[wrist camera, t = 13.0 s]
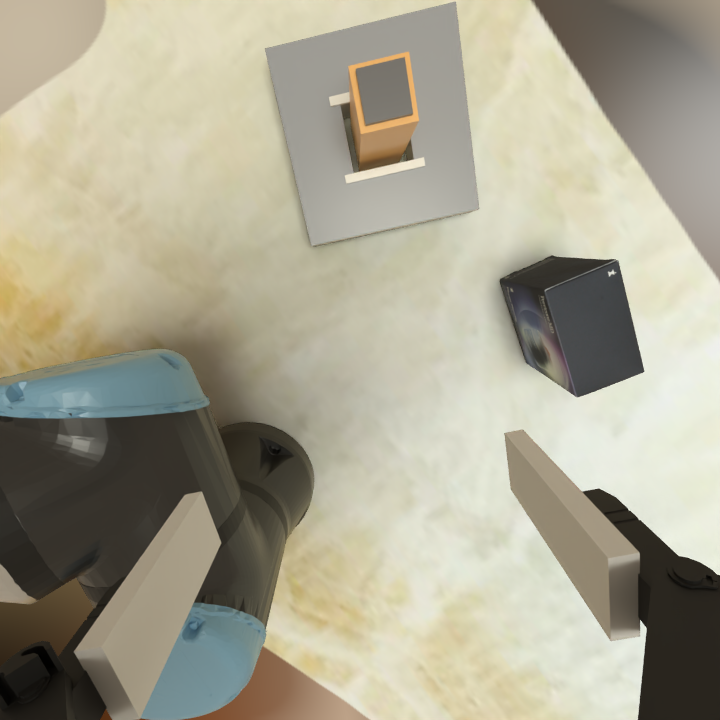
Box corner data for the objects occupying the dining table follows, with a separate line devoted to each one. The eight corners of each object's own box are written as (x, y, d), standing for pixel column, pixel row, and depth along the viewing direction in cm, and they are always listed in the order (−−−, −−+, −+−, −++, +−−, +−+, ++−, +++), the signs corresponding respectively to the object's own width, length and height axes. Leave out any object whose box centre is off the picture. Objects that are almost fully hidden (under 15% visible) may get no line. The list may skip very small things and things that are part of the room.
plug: (359, 171, 37) (361, 132, 25) (350, 126, 36) (348, 63, 24) (399, 162, 37) (420, 118, 25) (391, 116, 36) (409, 47, 24)
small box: (494, 280, 40) (541, 289, 30) (553, 254, 39) (621, 254, 29) (523, 366, 43) (575, 401, 33) (579, 343, 42) (650, 371, 32)
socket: (315, 246, 39) (310, 245, 35) (273, 68, 34) (263, 46, 31) (468, 212, 38) (480, 208, 34) (445, 26, 34) (456, -1, 30)
